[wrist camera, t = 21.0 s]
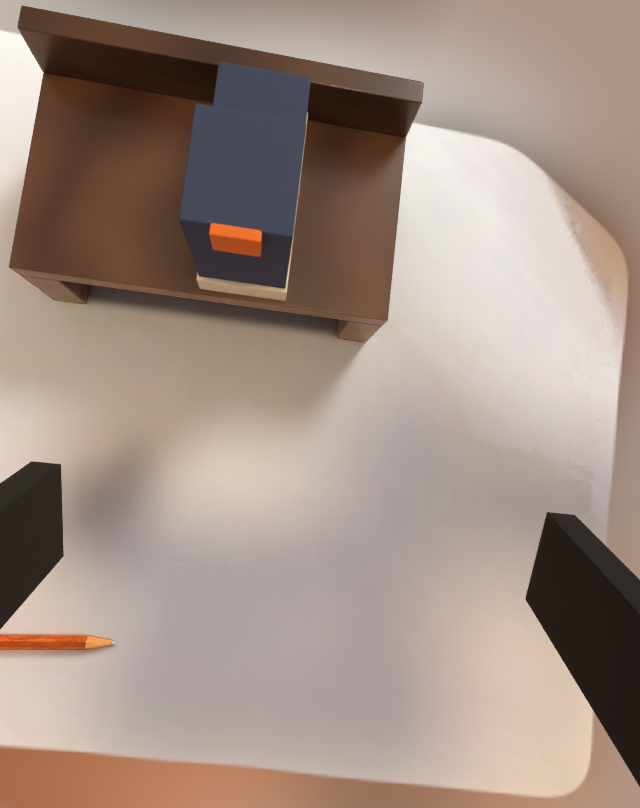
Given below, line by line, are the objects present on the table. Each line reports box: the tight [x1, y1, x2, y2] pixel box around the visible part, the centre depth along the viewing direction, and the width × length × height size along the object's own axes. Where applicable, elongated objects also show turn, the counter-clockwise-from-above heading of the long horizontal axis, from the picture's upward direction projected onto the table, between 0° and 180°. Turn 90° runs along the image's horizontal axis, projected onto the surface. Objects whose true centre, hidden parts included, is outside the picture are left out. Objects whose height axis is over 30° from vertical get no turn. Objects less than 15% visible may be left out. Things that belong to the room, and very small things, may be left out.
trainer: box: [179, 61, 311, 301], centre depth 24 cm, size 10×5×8 cm, turn 173°
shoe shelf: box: [9, 6, 424, 342], centre depth 29 cm, size 20×12×9 cm, turn 83°
